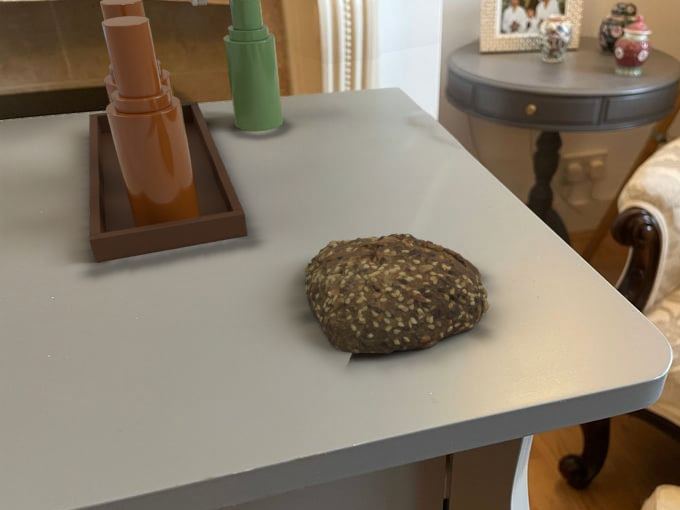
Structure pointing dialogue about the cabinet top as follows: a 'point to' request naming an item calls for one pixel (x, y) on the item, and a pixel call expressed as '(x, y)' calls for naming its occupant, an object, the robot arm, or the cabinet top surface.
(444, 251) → the bread roll
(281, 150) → the cabinet top surface
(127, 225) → the tray
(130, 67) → the amber bottle near
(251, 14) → the green bottle
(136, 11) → the amber bottle middle
